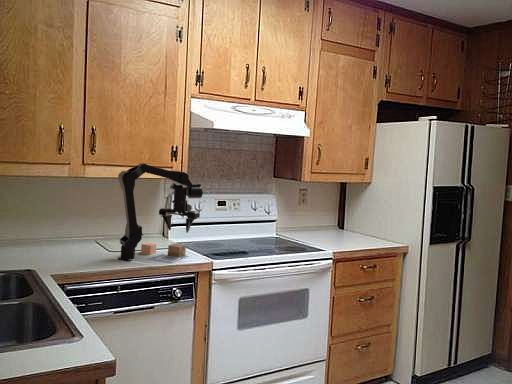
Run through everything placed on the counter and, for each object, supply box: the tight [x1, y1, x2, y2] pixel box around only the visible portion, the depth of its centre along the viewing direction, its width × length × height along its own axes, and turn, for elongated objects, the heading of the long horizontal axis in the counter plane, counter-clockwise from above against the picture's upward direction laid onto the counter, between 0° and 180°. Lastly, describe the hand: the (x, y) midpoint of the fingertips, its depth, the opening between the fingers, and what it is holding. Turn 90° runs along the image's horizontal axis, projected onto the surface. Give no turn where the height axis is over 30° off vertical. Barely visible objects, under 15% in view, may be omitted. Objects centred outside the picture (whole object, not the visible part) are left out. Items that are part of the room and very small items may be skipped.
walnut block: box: [167, 243, 187, 258], centre depth 230 cm, size 6×6×5 cm
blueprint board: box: [146, 251, 190, 264], centre depth 225 cm, size 18×12×1 cm, turn 161°
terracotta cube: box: [140, 242, 157, 256], centre depth 231 cm, size 5×5×5 cm
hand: (178, 231), depth 229 cm, fingers open, 9 cm apart
